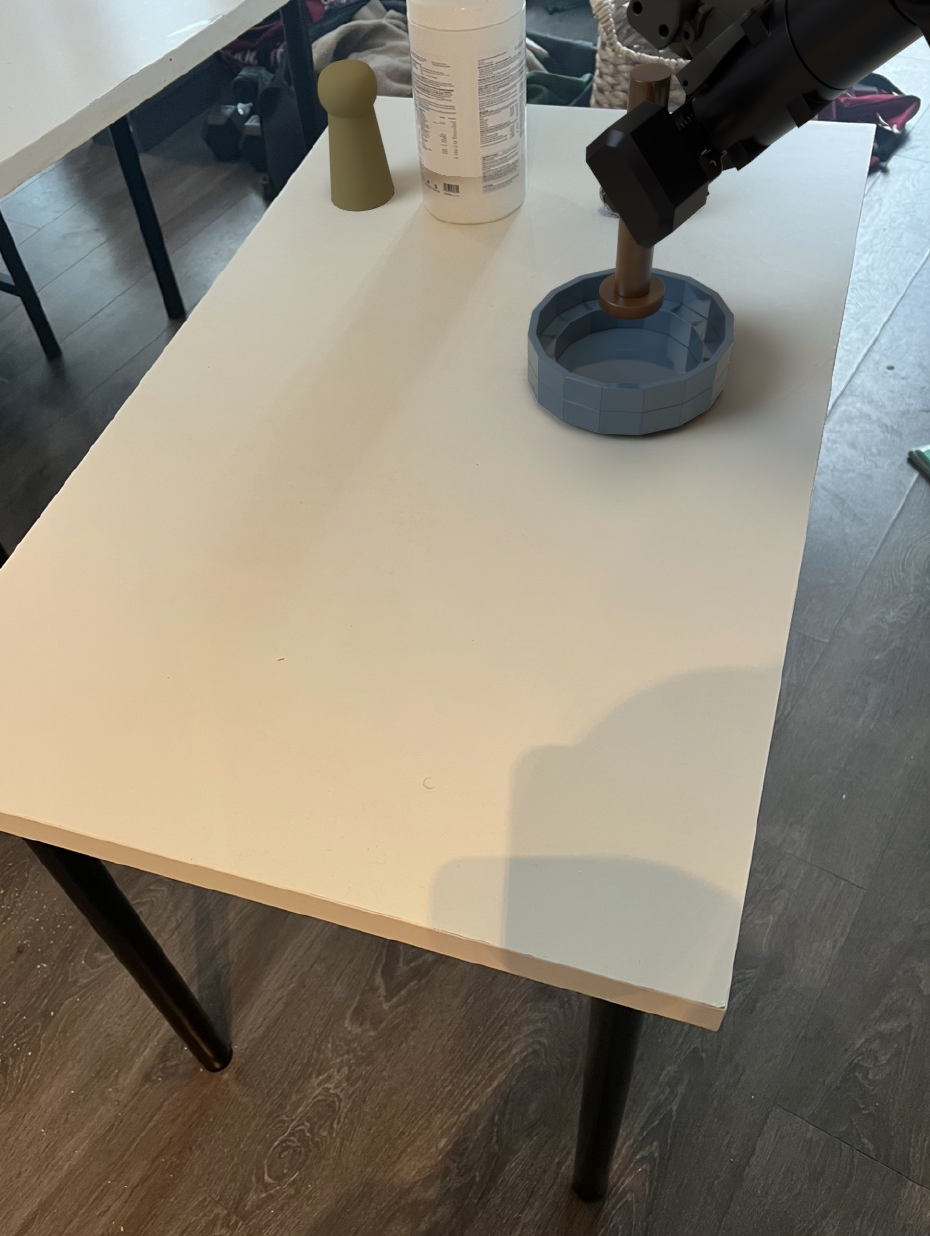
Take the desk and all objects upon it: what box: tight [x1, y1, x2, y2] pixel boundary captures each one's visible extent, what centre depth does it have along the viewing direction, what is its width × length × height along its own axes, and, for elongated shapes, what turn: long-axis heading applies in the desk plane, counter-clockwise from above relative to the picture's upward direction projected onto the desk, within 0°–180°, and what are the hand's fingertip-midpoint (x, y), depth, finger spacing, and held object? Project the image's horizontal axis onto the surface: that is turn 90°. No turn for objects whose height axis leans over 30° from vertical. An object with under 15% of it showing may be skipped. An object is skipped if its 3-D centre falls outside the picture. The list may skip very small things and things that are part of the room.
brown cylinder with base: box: [599, 62, 673, 320], centre depth 61 cm, size 4×4×14 cm
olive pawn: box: [317, 58, 395, 212], centre depth 87 cm, size 6×6×11 cm
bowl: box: [527, 267, 735, 436], centre depth 71 cm, size 14×14×4 cm
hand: (622, 194), depth 62 cm, fingers closed on brown cylinder with base, 2 cm apart
